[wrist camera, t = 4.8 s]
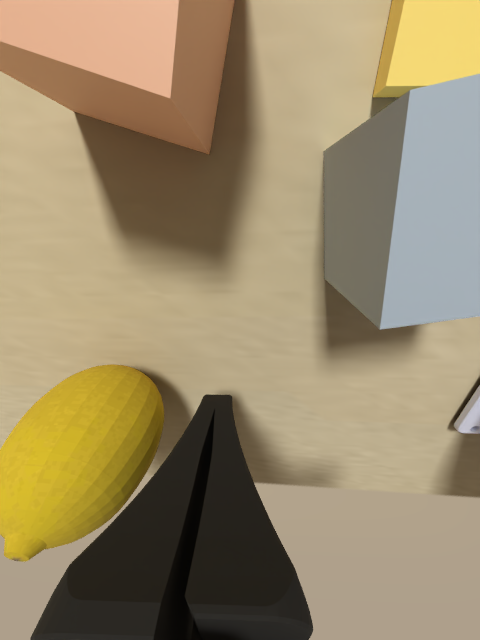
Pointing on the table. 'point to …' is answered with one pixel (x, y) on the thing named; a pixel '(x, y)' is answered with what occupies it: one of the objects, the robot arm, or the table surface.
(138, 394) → the lemon
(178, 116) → the terracotta block
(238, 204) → the table surface
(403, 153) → the slate block
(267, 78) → the table surface
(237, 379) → the table surface
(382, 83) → the tile
